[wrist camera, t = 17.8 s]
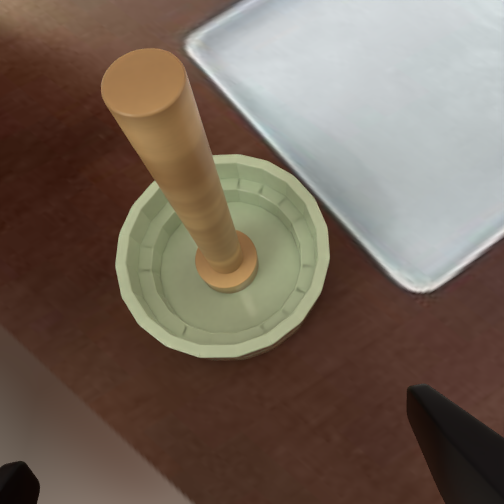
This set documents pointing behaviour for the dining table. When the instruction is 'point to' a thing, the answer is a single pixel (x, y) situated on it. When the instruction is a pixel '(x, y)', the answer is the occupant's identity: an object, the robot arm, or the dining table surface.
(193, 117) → the tan wooden rod
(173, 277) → the bowl
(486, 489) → the robot arm
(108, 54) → the dining table surface
